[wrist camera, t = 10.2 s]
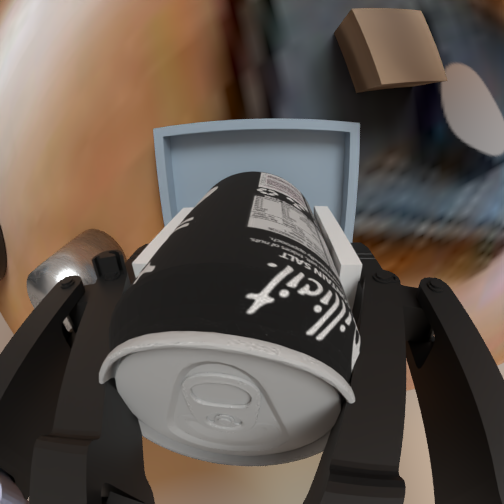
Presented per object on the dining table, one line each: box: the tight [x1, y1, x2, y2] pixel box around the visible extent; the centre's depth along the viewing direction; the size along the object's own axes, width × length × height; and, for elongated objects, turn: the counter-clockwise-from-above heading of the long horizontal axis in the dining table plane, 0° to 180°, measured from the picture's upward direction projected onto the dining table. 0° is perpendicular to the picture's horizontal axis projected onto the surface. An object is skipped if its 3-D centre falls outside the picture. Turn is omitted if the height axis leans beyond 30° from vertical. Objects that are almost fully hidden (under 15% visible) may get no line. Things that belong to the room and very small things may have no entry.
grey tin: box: [27, 229, 127, 331], centre depth 18 cm, size 6×6×7 cm
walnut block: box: [334, 8, 447, 93], centre depth 11 cm, size 4×4×4 cm
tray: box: [153, 119, 360, 243], centre depth 17 cm, size 12×12×2 cm
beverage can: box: [99, 171, 362, 466], centre depth 10 cm, size 7×7×12 cm
